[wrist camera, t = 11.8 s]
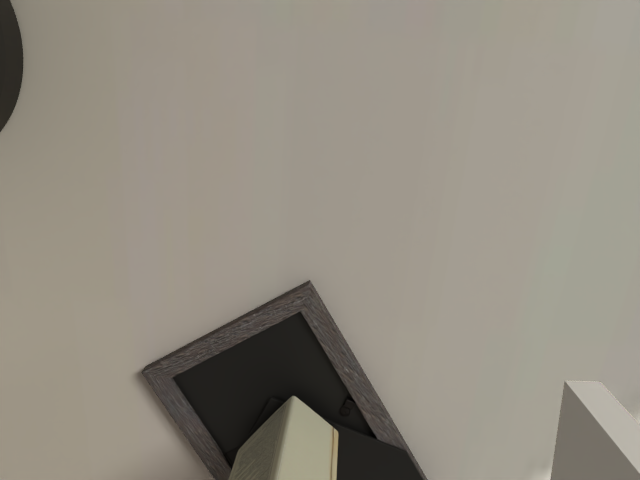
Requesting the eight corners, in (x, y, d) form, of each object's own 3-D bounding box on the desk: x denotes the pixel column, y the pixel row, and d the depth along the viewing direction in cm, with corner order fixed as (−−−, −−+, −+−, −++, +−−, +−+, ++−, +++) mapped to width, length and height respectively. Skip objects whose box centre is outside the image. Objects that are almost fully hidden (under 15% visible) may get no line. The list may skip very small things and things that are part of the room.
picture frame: (429, 479, 40) (310, 276, 37) (434, 498, 39) (308, 286, 35) (276, 548, 42) (149, 361, 39) (272, 569, 41) (139, 375, 37)
